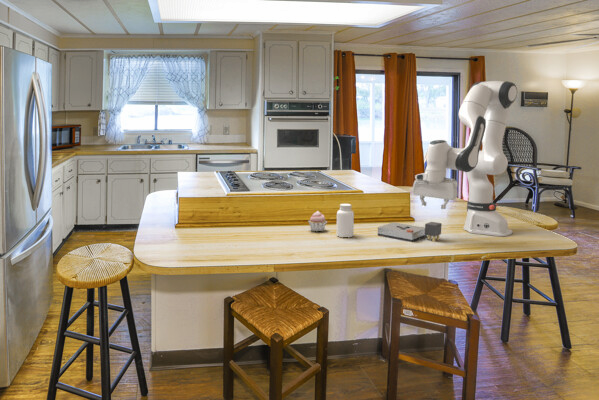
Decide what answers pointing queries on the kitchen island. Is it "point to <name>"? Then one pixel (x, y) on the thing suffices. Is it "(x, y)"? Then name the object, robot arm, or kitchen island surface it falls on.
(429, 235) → the plug
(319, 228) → the cupcake
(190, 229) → the kitchen island surface
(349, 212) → the pill bottle
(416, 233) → the socket
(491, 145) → the robot arm
